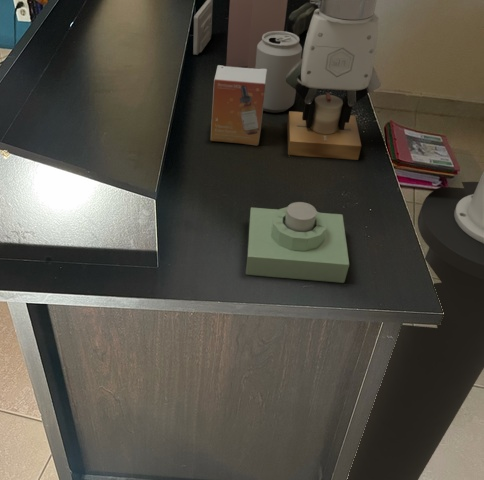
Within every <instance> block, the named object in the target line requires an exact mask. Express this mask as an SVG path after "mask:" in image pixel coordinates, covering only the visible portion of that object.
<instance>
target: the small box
mask: <svg viewBox="0 0 484 480" xmlns="http://www.w3.org/2000/svg"><path fill="white" fill-rule="evenodd" d="M266 79H267V69H253V68H248V67H228V66H226V65H220V64H217V66H216V70H215V75H214V79H213V91H212V104H211V105H212V107H211V124H210V139H209V140H210V142H223V143H232V144H241V145H250V146H256V147H257V146H259V144H260V139H261V138H260V137H261V130H262V123H263V114H264V113H263V112H264V111H263V106H264V97H265V89H266Z"/></svg>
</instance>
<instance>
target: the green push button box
mask: <svg viewBox="0 0 484 480" xmlns="http://www.w3.org/2000/svg"><path fill="white" fill-rule="evenodd" d="M287 207H288V206H285V207H282V208H279V209H277V208H264V207H250V209H249V210H250V211H249V219H248V230H247V245H246V248H247V249H246V262H245V263H246V264H245V265H246V266H245V275H247V276H256V277H257V276H258V277H270V278H283V279H293V280H304V281H305V280H306V281H315V282H316V281H317V282H329V283H340V284H344V283H345V282H346V279H347V275H348V272H349V267H350V260H349V251H348V244H347V238H346V230H345V223H344V222H345V221H344V215H343V214H341V213H329V212H328V213H327V212H319V211H317V210H316V211H317V214H316V219H315V224H314V228H313V229H312V230H311V231H308V232H295V231H293V230H291V229H288V228H287V227H286V226H285V216H286V210H287Z"/></svg>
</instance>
